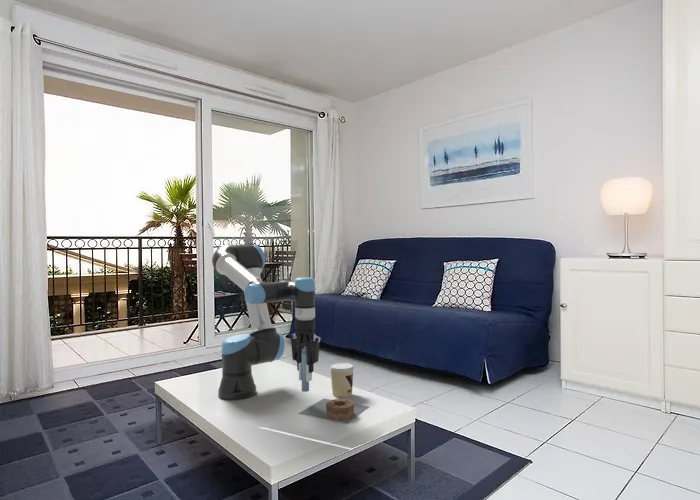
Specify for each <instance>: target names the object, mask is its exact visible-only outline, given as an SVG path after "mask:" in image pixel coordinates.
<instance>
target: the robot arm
mask: <svg viewBox="0 0 700 500" xmlns="http://www.w3.org/2000/svg"><path fill="white" fill-rule="evenodd" d="M211 260H212V261H211V264H212V267H213V269H214V270H215V271H216V272H217V273H218V274H221V275H222V276H223V275H224V276H226V277H227V278H228V279H229V280H230V281H232V282H233V283H234V284H235V285H236V286H237V287H239V288H240V289H241V290H242V291H243V294H244V298H245V299H244V300H245V304H246V308H247V313H248V317H249V322H250V327H251V331H250V332H249V334H247V333H244V334H243V333H242V334H236V335H232V336H229V337H226V338H225V339H224V340H223V341H222V343H221V352H220V353H221V369H222V377H221V381H220V383H219V387H218V391H217V392H218V395H217V396H218V397H219V398H220V399H222V400H230V401H235V400H242V399H243V400H244V399H248V398H250V397H252V396H255V395H256V393H257V385H256V384H255V380H254V377H253V374H252V371H253V370H252V367H253V366H256V365H259V364H261V365H262V364H265V363H272V362H274V361H278V360H280V359H281V358H282V357H283V355H284V352H285V347H286V345H285V344H286V342H285V339H284V335H282V333H281V332H277V328H276V327H275V326H273V324H272V322H271V317H270V313H269V309H268V303H275V302H285V301H286V302H287V301H292V302H294V311H295V312H294V313H295V314H294V317H295V319H294V328H295V331H294V333H290V334H289V340H290V343H291V344H290V345H291V355H292V361H295V362H296V363H297V364H296V365H297V366H296V368H297V372H298V381H302V353H301V350H302V348H306V350H307V359H308V363H307V364H306V382H309V383H310V382H311V381H312V380H313V372H314V366H315V365H314V364H315V363H316V364H317V363H318V362H319V356H320V355H319V354H320V345H321V341H322V337H321V336H317V334H316V332H315V329H316V319H315V318H316V285H315V282H316V281H315V278H313V277H307V276H303V277H302V276H300V277H297V278H295V279H294V281H292V280H289V279H288V280H281V281H275V282H265V281H264V280H262V278H261V273H262V272H263V269H264V267H265V265H266V255H265V253H264V250H263V249H262V248H261V246H259V245H257V244H249V243H247V244H226V245H225V244H224V245H222V246H219V247H218V248H217V249H216V250H215V251H214V253H213V254H212V259H211Z"/></svg>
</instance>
